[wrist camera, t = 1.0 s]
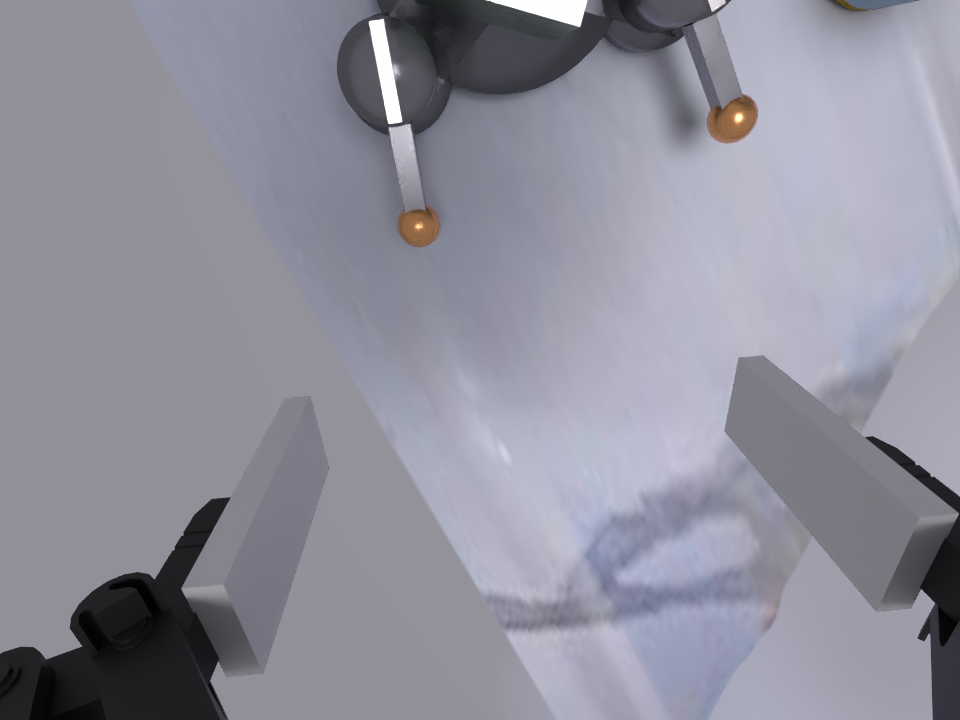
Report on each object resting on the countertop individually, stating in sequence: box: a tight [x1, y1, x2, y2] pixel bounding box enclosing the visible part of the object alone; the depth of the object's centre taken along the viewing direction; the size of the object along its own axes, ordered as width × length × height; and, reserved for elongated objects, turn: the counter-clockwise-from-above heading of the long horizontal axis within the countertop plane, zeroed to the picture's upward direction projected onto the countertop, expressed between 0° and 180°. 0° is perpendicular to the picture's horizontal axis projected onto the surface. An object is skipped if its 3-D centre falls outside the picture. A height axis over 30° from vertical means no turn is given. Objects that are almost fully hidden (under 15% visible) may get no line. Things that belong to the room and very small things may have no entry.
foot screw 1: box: [337, 16, 440, 247], centre depth 29 cm, size 12×5×6 cm, turn 7°
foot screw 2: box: [617, 0, 758, 143], centre depth 27 cm, size 12×5×6 cm, turn 32°
